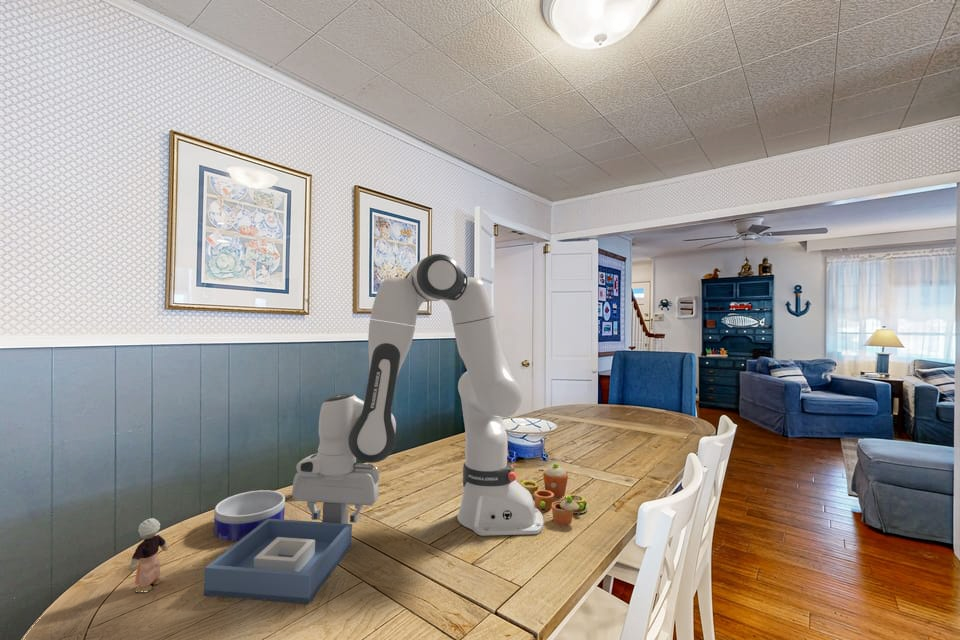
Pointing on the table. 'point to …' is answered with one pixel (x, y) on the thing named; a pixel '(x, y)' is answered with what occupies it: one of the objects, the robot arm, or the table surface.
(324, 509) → the connector plug
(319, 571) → the walled tray
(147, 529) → the grandmother figurine
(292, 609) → the table surface
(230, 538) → the dog bowl
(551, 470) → the toy tea set
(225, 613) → the table surface
